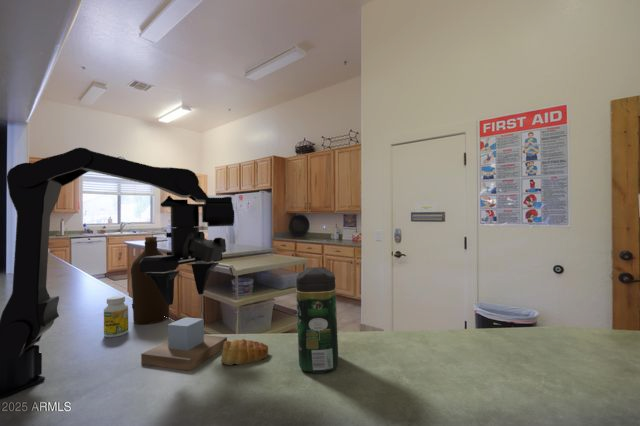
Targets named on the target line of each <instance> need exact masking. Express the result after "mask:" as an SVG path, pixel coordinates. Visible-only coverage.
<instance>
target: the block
mask: <svg viewBox="0 0 640 426" xmlns="http://www.w3.org/2000/svg"><path fill="white" fill-rule="evenodd" d="M204 323H205V322H204V318H198V317H197V318H195V317H186V316H185V317H183V318H181V319H178V320H175V321H173V322H171V323H168V324H167V341H168V349H177V350H185V351H188V350H190V349H192V348H194V347H195V346H197V345H199V344H201V343H202V342H204V335H205V331H204V330H205V329H204V328H205V327H204V325H205V324H204Z"/></svg>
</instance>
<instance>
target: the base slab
mask: <svg viewBox="0 0 640 426" xmlns="http://www.w3.org/2000/svg"><path fill="white" fill-rule="evenodd" d="M225 341H228V337H227V336H217V335H207V334H204V342H202V343H201V344H199V345H197V346H195V347H194V348H192V349H190V350H188V351H185V350H177V349H168V340H166V341H164V342H163V343H160V344H159V345H157V346H154V347H152V348H151V349H148V350H146V351H144V352H142V353H141V354H140V355H141V356H140V357H141V358H140V359H141V360H140V362H141V363H140V364H141V365H148V366H155V367H162V368H169V369H175V370H181V371H182V370H183V371H189V372H190V371H191V370H193V369H194V368H196V367H198V366H199V365H200V364H202V363H203V362H205V361H206V360H209V359H210V358H211V357H214V355H216V354H217V353H219V352H220V351H221V349H222V350H223V345H224V343H225ZM218 351H219V352H218ZM215 353H216V354H215Z"/></svg>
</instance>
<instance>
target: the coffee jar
mask: <svg viewBox="0 0 640 426" xmlns="http://www.w3.org/2000/svg"><path fill="white" fill-rule="evenodd" d="M295 283H296V287H295V288H296V291H295V292H296V293H295V294H296V296H295V297H296V315H297V316H296V322H297V323H296V324H297V326H296V327H297V346H298V353H297V354H298V364H299V365H298V366H299V367H300V369H301V370H302V371H306V372H310V373H313V374H323V373H326V372H330V371H333V370H336V368H337V367H338V364H339V345H338V344H339V343H338V341H339V340H338V338H339V337H338V319H337V291H336V290H337V289H336V276H335V273H333V272H332V270H329V269H327V268H326V267H323V266H319V267H318V266H317V267H306V268H305V269H304V270H302V271H301V272H299V273H298V274H297V276H296V282H295Z"/></svg>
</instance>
